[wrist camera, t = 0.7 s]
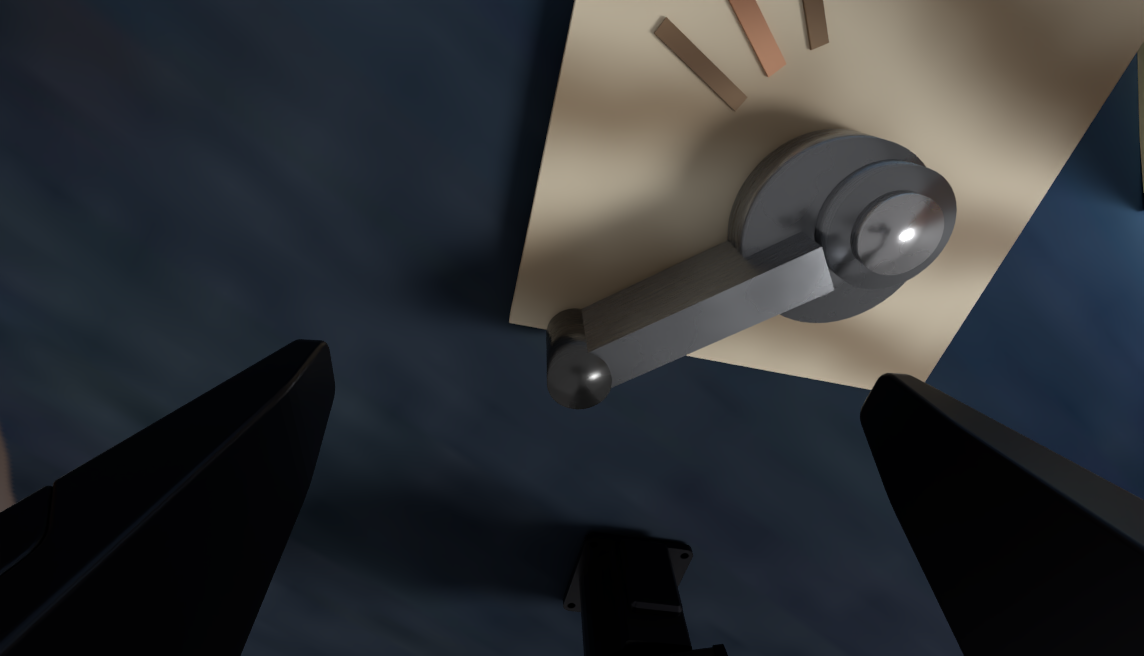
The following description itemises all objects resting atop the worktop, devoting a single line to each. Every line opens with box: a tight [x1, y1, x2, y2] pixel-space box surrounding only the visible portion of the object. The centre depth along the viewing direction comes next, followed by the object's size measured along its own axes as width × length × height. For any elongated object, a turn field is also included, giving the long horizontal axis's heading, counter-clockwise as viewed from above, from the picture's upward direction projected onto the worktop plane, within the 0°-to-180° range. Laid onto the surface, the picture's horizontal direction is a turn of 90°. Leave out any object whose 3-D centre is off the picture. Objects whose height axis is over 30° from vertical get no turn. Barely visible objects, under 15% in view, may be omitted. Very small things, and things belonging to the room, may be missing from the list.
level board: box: [509, 0, 1144, 390], centre depth 21 cm, size 18×20×1 cm
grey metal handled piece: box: [546, 129, 957, 409], centre depth 20 cm, size 15×7×4 cm, turn 117°
